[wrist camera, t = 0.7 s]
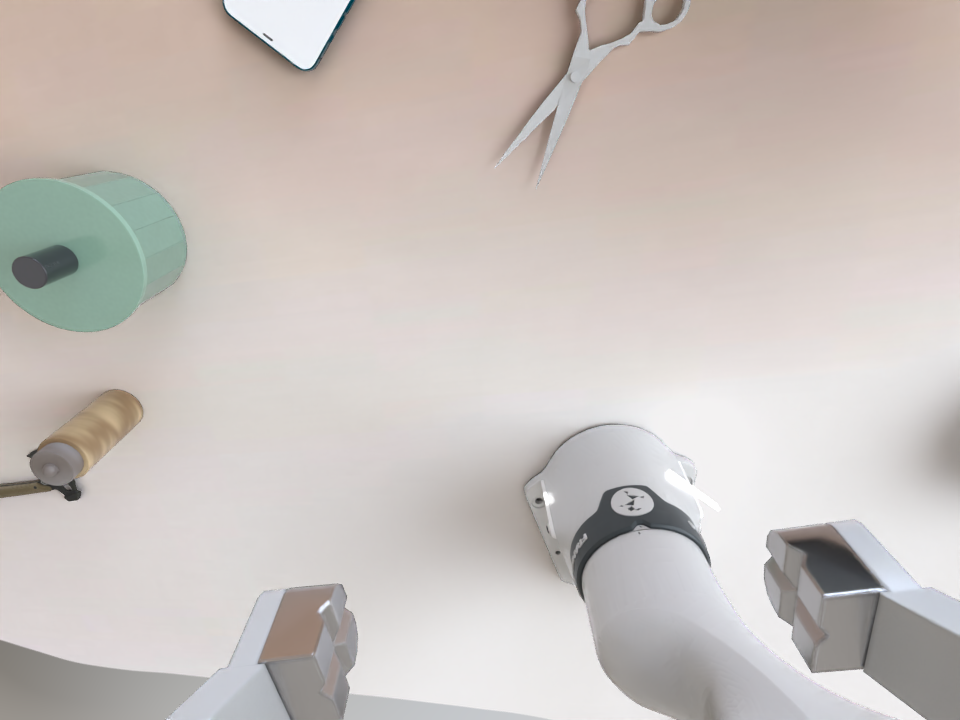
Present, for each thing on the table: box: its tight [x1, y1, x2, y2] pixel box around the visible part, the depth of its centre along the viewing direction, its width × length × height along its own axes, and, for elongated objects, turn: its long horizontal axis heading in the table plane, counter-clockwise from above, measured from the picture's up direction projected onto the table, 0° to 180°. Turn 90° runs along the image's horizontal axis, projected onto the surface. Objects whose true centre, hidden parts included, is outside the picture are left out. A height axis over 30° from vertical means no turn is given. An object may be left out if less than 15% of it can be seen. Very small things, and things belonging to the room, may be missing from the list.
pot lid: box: [0, 178, 148, 332], centre depth 42 cm, size 12×12×5 cm
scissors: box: [494, 0, 690, 189], centre depth 44 cm, size 11×1×20 cm
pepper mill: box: [30, 390, 143, 486], centre depth 52 cm, size 4×4×11 cm
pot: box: [60, 171, 187, 306], centre depth 47 cm, size 11×11×8 cm
